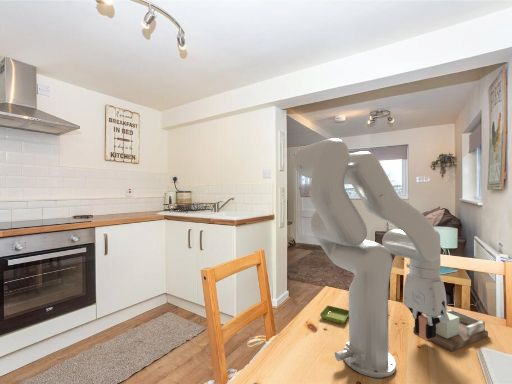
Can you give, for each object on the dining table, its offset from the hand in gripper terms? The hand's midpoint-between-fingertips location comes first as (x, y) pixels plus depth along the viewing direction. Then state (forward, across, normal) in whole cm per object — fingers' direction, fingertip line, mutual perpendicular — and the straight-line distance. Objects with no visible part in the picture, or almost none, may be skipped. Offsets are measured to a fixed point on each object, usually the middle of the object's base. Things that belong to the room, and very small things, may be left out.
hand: (425, 334), depth 75 cm
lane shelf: (+3, 0, +12) cm, 12 cm away
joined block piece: (+1, 0, +5) cm, 5 cm away
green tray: (+3, -23, -13) cm, 27 cm away
